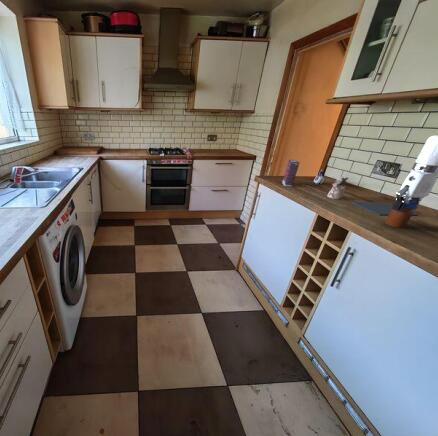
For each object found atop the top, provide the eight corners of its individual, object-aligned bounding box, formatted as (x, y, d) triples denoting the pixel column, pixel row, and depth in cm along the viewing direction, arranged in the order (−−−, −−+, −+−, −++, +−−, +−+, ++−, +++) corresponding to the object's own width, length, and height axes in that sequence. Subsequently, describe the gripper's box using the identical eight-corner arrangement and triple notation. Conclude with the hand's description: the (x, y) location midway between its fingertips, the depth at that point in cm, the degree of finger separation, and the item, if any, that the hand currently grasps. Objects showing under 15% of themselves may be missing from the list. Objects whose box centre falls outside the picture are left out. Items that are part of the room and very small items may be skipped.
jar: (393, 221, 103) (405, 200, 99) (408, 228, 98) (422, 206, 93) (380, 221, 103) (391, 200, 99) (394, 228, 97) (407, 205, 93)
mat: (385, 203, 125) (386, 202, 125) (417, 215, 111) (418, 214, 110) (351, 203, 124) (351, 202, 124) (379, 215, 110) (379, 214, 109)
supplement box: (292, 186, 148) (300, 162, 142) (284, 185, 150) (291, 161, 143) (289, 183, 156) (296, 159, 149) (281, 182, 157) (288, 159, 150)
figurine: (325, 194, 136) (333, 174, 131) (339, 196, 134) (347, 176, 129) (329, 198, 130) (337, 177, 125) (344, 200, 128) (353, 179, 123)
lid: (411, 209, 92) (413, 206, 92) (390, 203, 98) (392, 200, 97) (420, 207, 95) (422, 203, 94) (399, 201, 100) (401, 198, 100)
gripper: (422, 171, 84) (398, 214, 92) (454, 170, 88) (428, 212, 96) (398, 166, 91) (377, 207, 99) (429, 166, 95) (407, 205, 102)
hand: (403, 209), depth 97 cm, fingers closed on lid, 6 cm apart
